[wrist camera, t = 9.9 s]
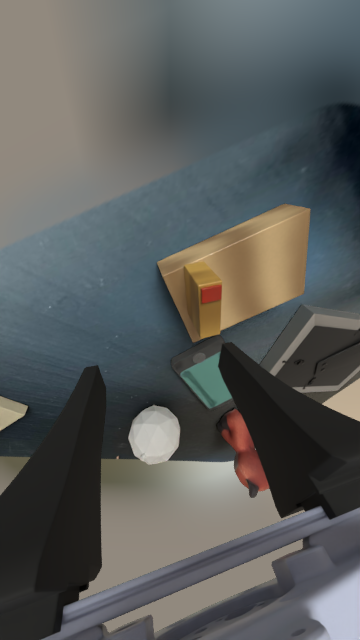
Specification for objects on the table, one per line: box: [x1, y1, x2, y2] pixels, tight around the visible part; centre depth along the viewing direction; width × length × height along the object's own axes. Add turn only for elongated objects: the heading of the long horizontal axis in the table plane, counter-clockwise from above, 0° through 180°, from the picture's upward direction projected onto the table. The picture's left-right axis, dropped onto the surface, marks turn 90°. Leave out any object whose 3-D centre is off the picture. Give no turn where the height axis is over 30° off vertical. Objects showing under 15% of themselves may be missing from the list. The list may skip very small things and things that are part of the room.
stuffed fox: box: [217, 409, 270, 498], centre depth 34 cm, size 8×11×12 cm
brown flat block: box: [157, 204, 310, 343], centre depth 18 cm, size 12×8×3 cm, turn 110°
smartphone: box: [171, 335, 234, 411], centre depth 29 cm, size 7×1×15 cm
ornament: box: [128, 405, 180, 465], centre depth 28 cm, size 7×7×8 cm
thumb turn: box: [184, 261, 222, 339], centre depth 15 cm, size 4×2×4 cm, turn 6°
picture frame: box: [260, 305, 360, 393], centre depth 31 cm, size 16×3×21 cm
